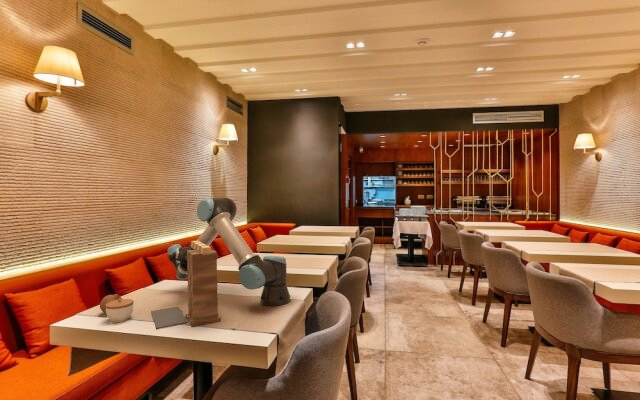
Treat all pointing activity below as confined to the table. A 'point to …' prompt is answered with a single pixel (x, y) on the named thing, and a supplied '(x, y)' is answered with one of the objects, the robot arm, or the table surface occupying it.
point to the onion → (107, 300)
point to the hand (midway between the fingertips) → (192, 249)
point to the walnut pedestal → (202, 288)
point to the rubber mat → (168, 317)
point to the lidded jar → (119, 309)
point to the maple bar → (201, 247)
